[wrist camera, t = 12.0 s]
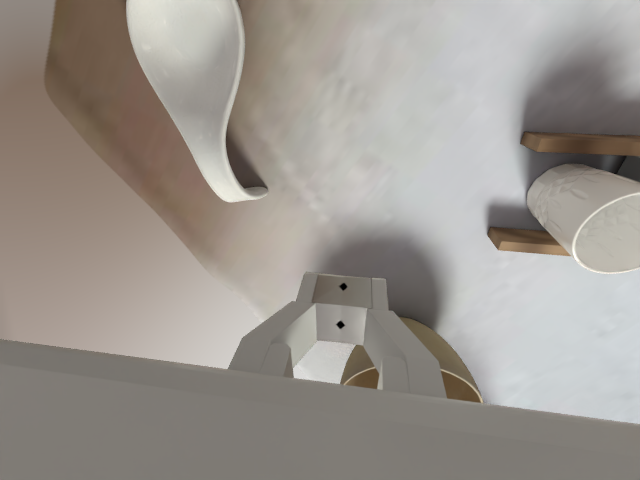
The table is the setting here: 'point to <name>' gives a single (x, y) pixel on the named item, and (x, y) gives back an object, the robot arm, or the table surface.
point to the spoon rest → (195, 76)
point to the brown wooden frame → (560, 144)
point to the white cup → (590, 215)
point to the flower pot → (451, 365)
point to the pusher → (630, 168)
